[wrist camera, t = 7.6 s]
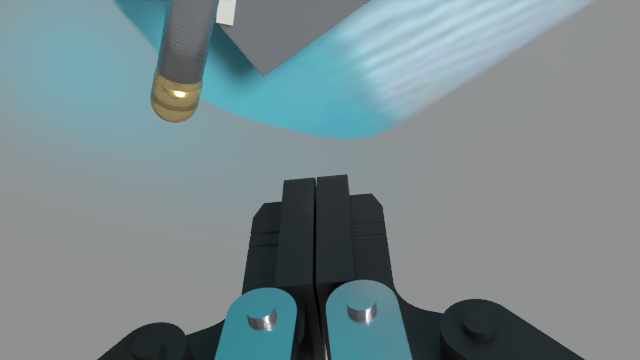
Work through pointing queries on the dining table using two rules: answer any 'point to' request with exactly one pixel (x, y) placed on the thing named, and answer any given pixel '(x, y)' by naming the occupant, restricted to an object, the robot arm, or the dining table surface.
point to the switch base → (279, 26)
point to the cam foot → (182, 58)
